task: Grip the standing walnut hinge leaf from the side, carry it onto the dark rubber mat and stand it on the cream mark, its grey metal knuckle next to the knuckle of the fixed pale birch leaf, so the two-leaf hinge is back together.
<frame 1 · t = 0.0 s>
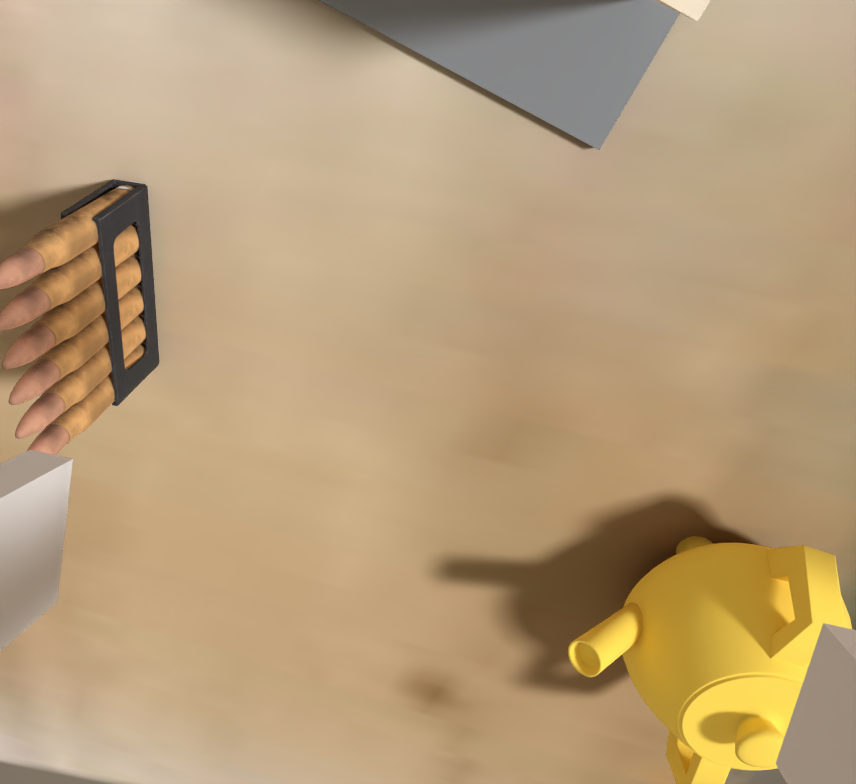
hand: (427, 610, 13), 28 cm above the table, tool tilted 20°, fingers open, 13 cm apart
ammunition clip: (139, 276, 43), on the table
teapot: (718, 590, 48), on the table
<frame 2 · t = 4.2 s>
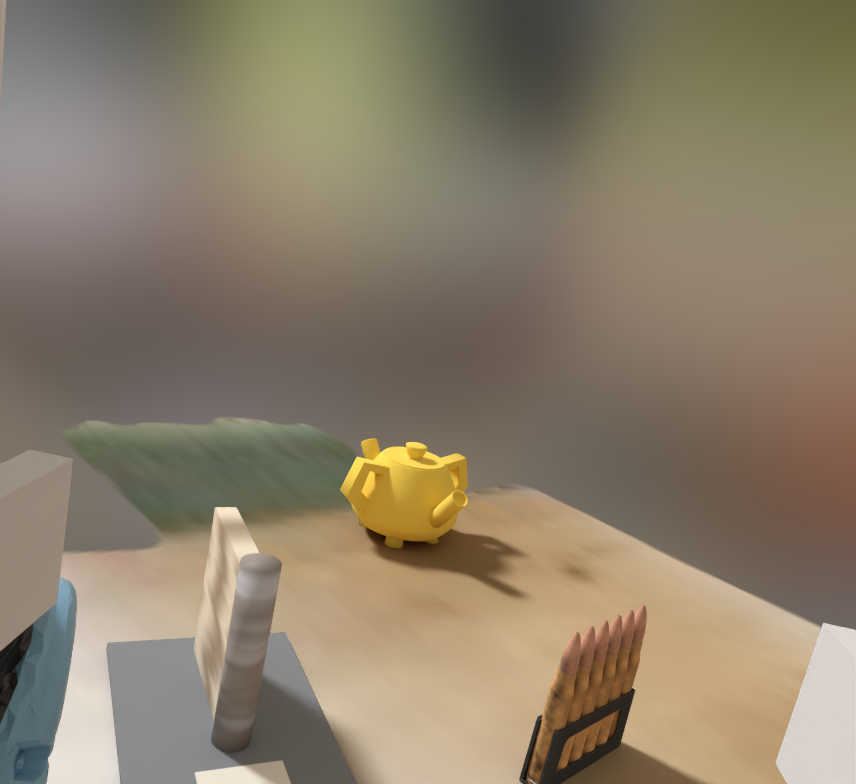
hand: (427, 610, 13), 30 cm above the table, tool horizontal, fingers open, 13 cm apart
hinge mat: (233, 759, 51), on the table
ammunition clip: (571, 764, 58), on the table
birch hinge leaf: (231, 614, 54), on the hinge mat, point 7 cm above the table
teapot: (398, 533, 93), on the table
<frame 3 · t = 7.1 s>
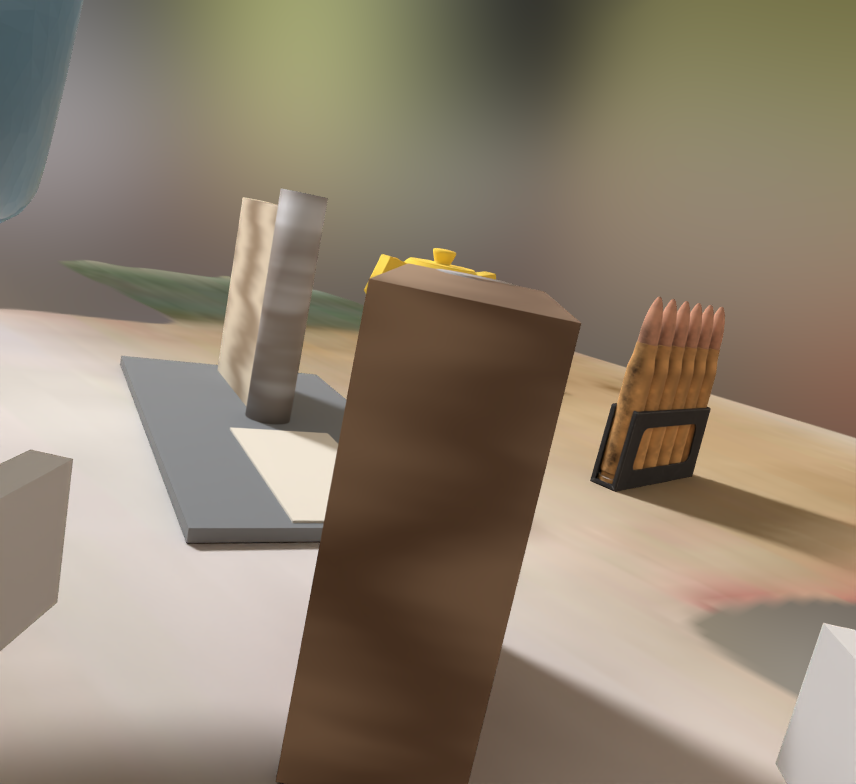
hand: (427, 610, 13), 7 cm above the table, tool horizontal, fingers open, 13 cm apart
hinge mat: (271, 433, 44), on the table
ammunition clip: (643, 481, 52), on the table
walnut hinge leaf: (388, 691, 23), on the table
birch hinge leaf: (264, 294, 48), on the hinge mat, point 7 cm above the table
teapot: (424, 350, 87), on the table
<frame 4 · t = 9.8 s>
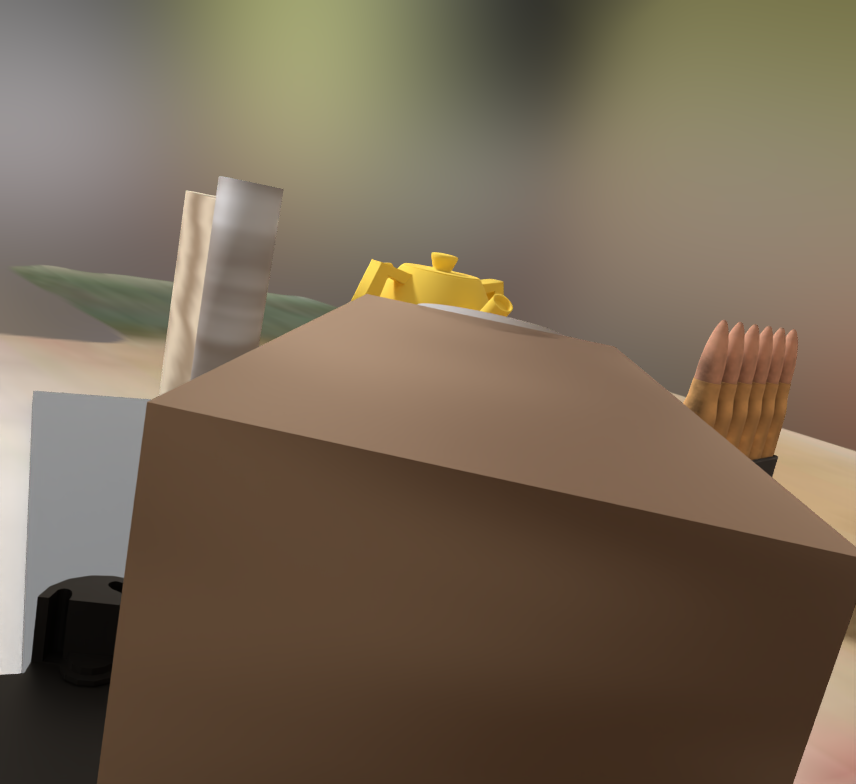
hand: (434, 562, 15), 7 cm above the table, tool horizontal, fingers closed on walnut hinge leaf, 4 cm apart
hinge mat: (210, 502, 33), on the table
ammunition clip: (695, 552, 41), on the table
birch hinge leaf: (207, 316, 37), on the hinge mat, point 7 cm above the table
teapot: (421, 369, 75), on the table
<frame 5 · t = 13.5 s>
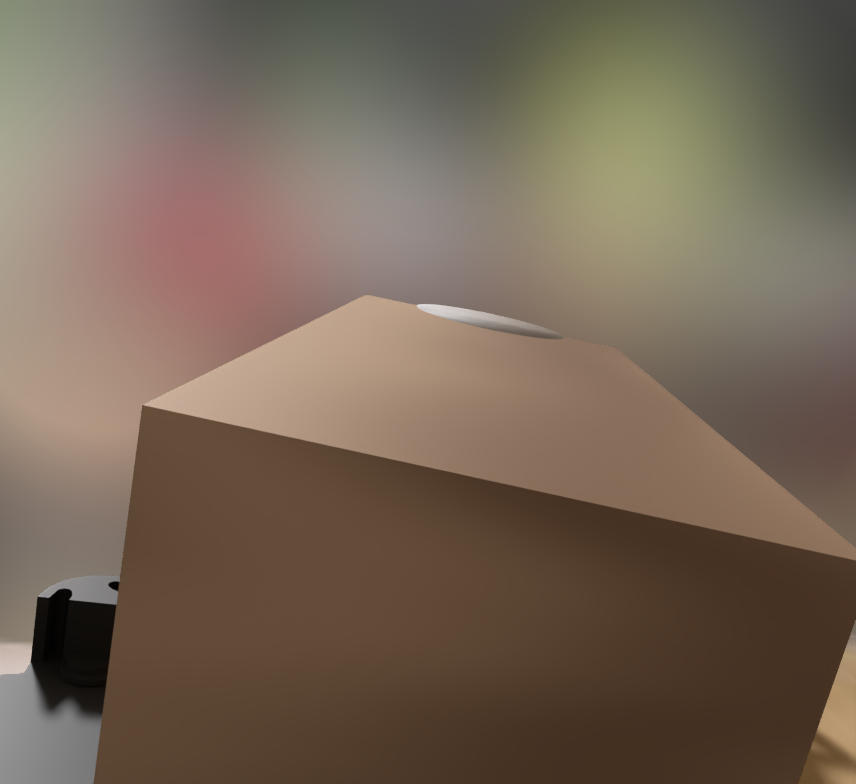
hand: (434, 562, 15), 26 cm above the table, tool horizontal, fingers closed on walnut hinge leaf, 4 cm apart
when the fingers open (9 cm above the table, at t = 17.4 s): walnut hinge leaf stays where it is, resting on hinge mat.
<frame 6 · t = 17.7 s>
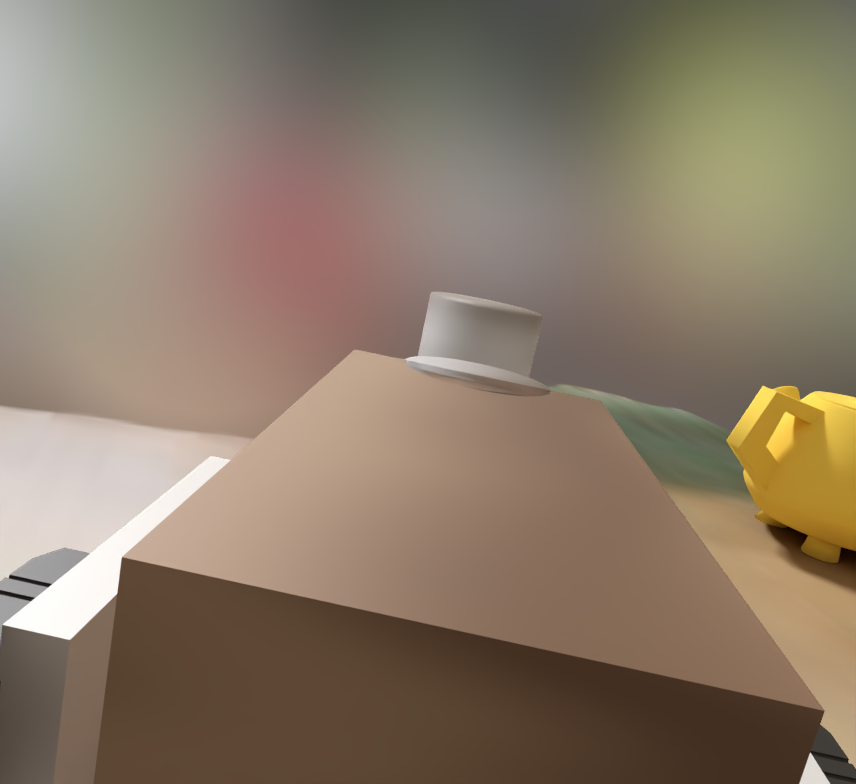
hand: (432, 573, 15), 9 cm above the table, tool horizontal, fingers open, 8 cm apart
birch hinge leaf: (440, 500, 24), on the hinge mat, point 7 cm above the table
teapot: (828, 544, 52), on the table
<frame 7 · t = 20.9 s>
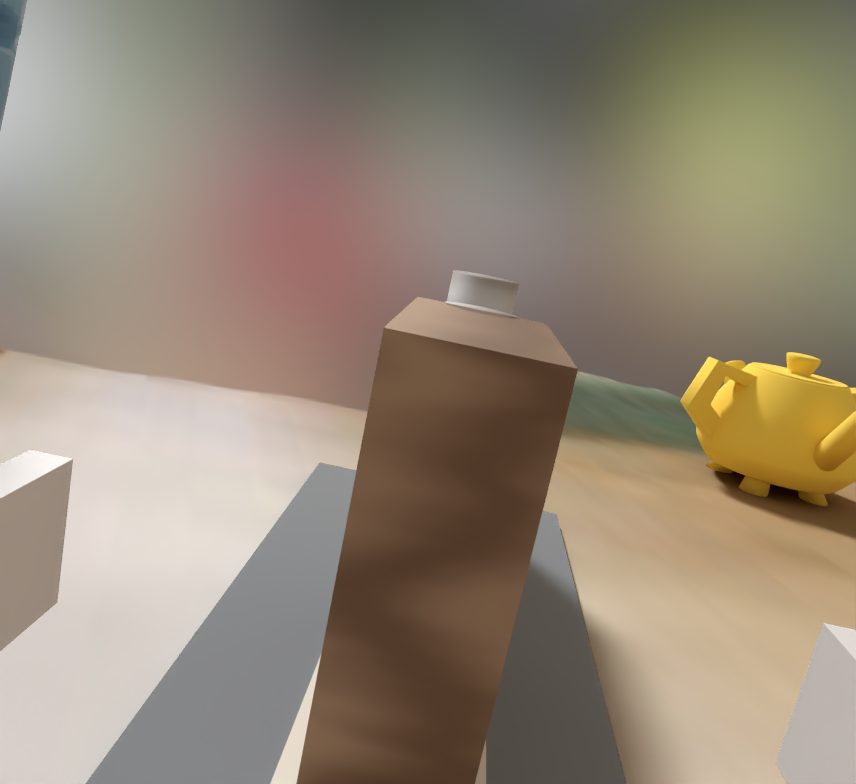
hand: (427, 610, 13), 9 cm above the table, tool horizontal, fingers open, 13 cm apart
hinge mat: (414, 607, 32), on the table
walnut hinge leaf: (399, 701, 24), point 1 cm above the table, touching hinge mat
birch hinge leaf: (456, 409, 36), on the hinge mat, point 7 cm above the table
teapot: (763, 486, 64), on the table
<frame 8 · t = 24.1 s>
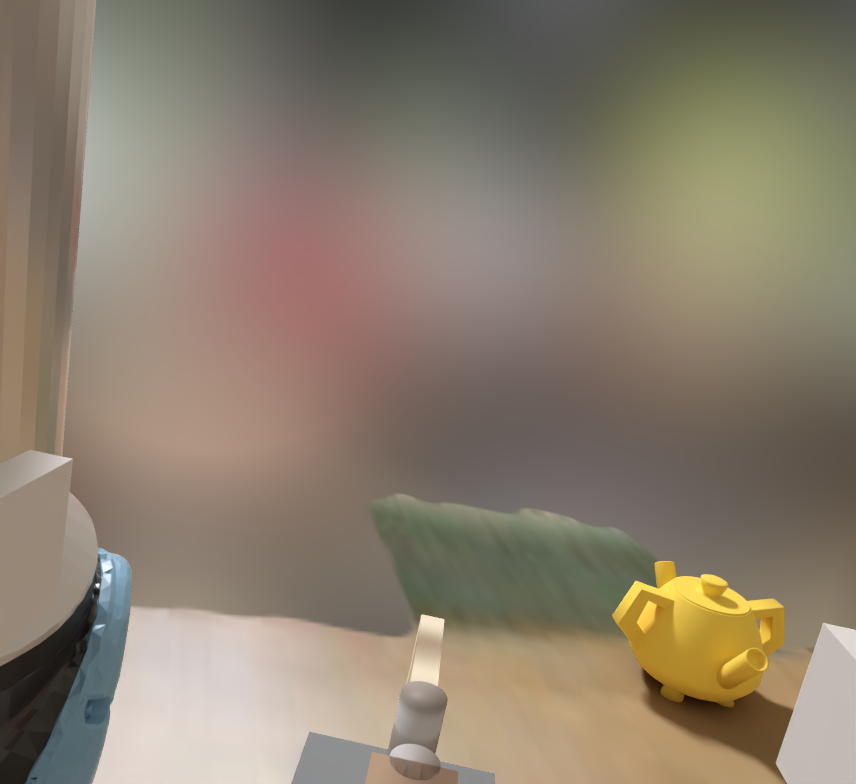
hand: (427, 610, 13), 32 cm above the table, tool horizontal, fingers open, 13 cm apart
birch hinge leaf: (409, 742, 48), on the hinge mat, point 7 cm above the table
teapot: (683, 682, 77), on the table
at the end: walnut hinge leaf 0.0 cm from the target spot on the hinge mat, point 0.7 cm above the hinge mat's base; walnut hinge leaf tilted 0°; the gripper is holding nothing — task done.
